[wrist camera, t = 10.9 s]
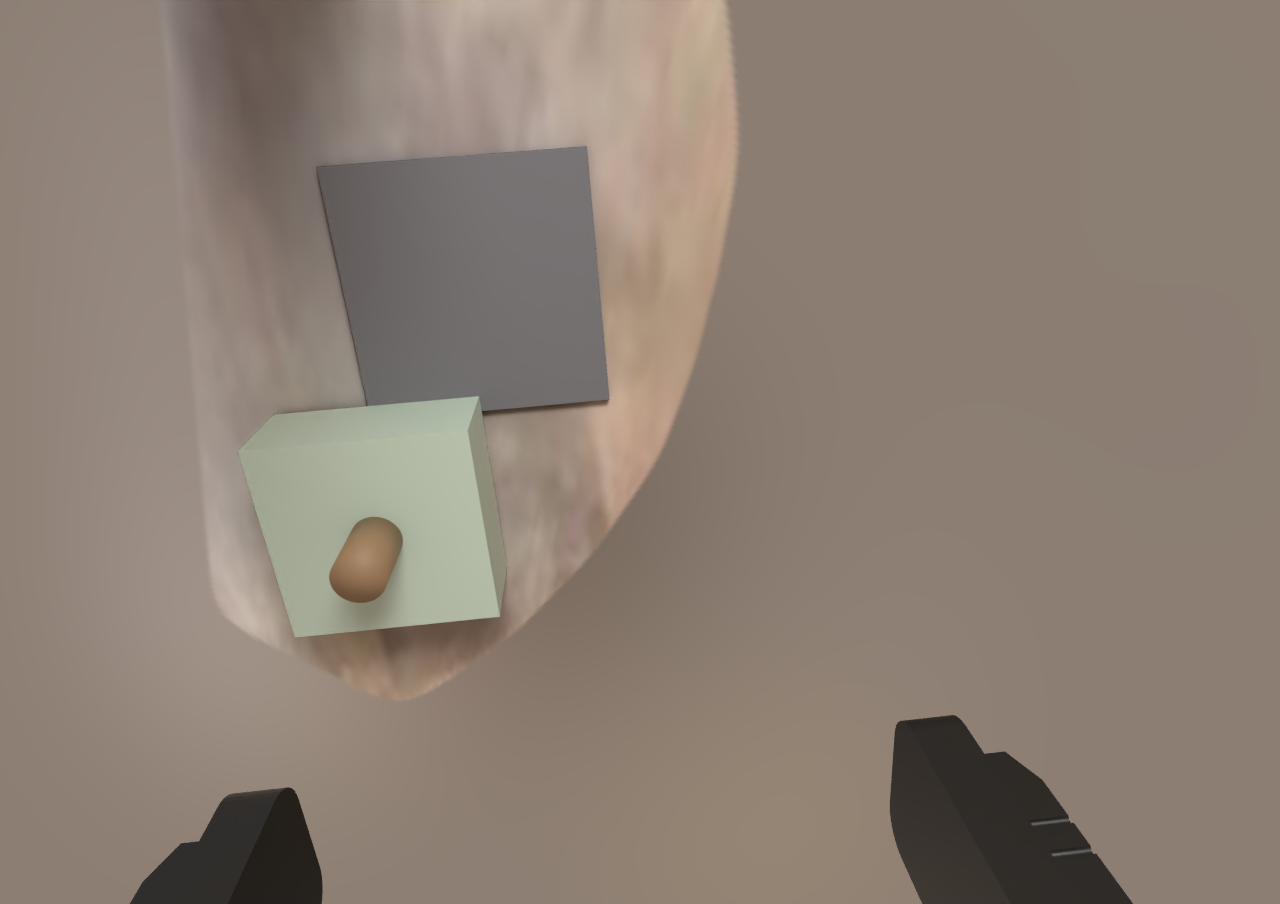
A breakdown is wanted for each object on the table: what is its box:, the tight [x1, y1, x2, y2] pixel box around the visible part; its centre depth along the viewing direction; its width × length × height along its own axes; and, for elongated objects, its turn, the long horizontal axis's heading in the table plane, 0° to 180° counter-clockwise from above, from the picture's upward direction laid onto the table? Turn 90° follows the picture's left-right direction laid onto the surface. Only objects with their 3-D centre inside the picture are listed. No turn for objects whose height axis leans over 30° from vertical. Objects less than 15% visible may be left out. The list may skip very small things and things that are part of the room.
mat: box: [317, 146, 609, 411], centre depth 43 cm, size 14×14×1 cm
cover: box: [237, 396, 507, 638], centre depth 43 cm, size 12×12×9 cm
